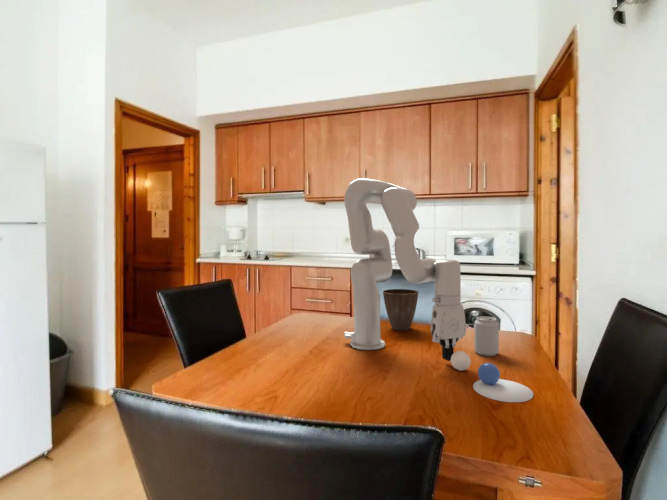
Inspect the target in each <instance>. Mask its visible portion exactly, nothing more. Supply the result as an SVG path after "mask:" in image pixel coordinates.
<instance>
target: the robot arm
mask: <svg viewBox="0 0 667 500" xmlns="http://www.w3.org/2000/svg"><path fill="white" fill-rule="evenodd" d="M343 200H344V207H345V212H346V215H347V220H348V221H347V222H348V224H347V225H348V232H349V237H350V246H351V249H352V251H353V252H354V253H355V254H356V255H358V256H359V255H361V256H362V255H363V256H367V255H368V257H367V258H362V259H361V258H360V259H358V260H356V261H355V262H354V263H353V264H352V266H351V267H350V281H351V284H352V291H353V323H354V324H353V329H354V331H352V332H349V331H344V334H343V336H344V339H350V343H349V345H351V346H352V348H353V349H355V348H356V350H360V351H375V350H380V349H383V348H384V347H385V346H386V342H385V340H383V339H381V337H382V336H381V335H382V334H381V295H380V291H379V289H378V286H377V284H381V283H385V282H387V281H388V280H390V278H391V277H392V274H393V260H392V254H391V253H392V252H391V246H390V240H389V238H388V236H387V233H385V231H383V230H381V229H380V228H374V226H373V222H372V221H373V220H372V215H371V212H370V210H369V208H368V207H367V204H377V205H381V206H382V209H383V211H384V213H385V216H386V218H387V220H388V222H389V225H390V227H391V230H392V231H393V234H394V254H395V255H394V256H395V259H396V262H397V265H398V267H399V270H400V272H401V273H402V275H403V277H404V278H405V279H406V281H408V282H409V283H410V284H414V285H418V284H423V283H430V282H434V297H432V302H433V303H434V304H433V307H432V311H431V321H430V334H431V336H432V339H431V342H433V343H437V344H439V345H440V346H441V350H442V351H441V352H442V353H441V354H442V356H441V357H442V359H443V360H445V361H448V362H451V356H452V355H453V353H454V348H455V347H456V344H457V342H458V341H460V340H462V339H463V338H464V337H465V336H466V335H467V325H466V314H465V313H466V312H465V309H464V304H462V303H461V297H462V296H461V294H462V293H461V291H462V290H461V286H462V285H461V282H462V281H461V280H462V279H461V263H460V261H459V260H456V259H436V258H432V257H431V258H429V257H427V258H420V256H419V254H418V252H417V250H416V247H415V236H416V233H417V232H418V230H420V223H419V222H418V221H419V220H417V217H416V216H415V213H414V210H415V209H416V206H417V204H418V200H417V196H416V194H415V193H414V192H413V191H412V190H410V189H408V188H405V187H402V186H399V185H395V184H393V183H390V182H388V181H387V182H386V181H383V180H378V179H373V178H365V177H362V178H357V179H354V180H353V181H351V182H350V183H349V185H348V186H347V188H346V191H345V193H344V199H343ZM351 346H350V347H351Z"/></svg>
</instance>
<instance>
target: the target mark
mask: <svg viewBox="0 0 667 500" xmlns="http://www.w3.org/2000/svg"><path fill="white" fill-rule="evenodd" d="M472 388H473V390H474V391H475V392H476V393H477V394H479V395H481V396H482V397H484V398H487V399H490V400H494V401H499V402H502V403H524V402H527V401H531V399H533V398H534V391H532V389H530V387H528V386H526V385H524V384H522V383H519V382H516V381H513V380H507V379H502V378H499V380H498V382H496V383H495V384H486V383H484V382H482V381H481V380H480V379H479V380H476V381H475V382H474V383H473V385H472Z"/></svg>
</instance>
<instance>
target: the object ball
mask: <svg viewBox="0 0 667 500" xmlns="http://www.w3.org/2000/svg"><path fill="white" fill-rule="evenodd" d="M477 377H478V378H479V380H481V381H482V382H484V383H486V384H495V383H496V382H498V380H499V379H501V378H500V377H501V371H500V369H499V368H498V367H497V366H496V365H495V364H494V363H491V362H484V363H481V365H479V367H478V369H477Z"/></svg>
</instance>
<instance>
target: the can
mask: <svg viewBox="0 0 667 500" xmlns="http://www.w3.org/2000/svg"><path fill="white" fill-rule="evenodd" d="M499 325H500V324H499V322H498V321H497V318H496V317H492V316H485V315H484V316H477V317H476V320H475V321H474V351H475V352H476V353H477V354H478V355H480V356H483V357H484V356H485V357H494V356H496V355H497V354H499V352H500V348H499V345H500V343H499V339H500V336H499V335H500V329H499V327H500V326H499Z"/></svg>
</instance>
